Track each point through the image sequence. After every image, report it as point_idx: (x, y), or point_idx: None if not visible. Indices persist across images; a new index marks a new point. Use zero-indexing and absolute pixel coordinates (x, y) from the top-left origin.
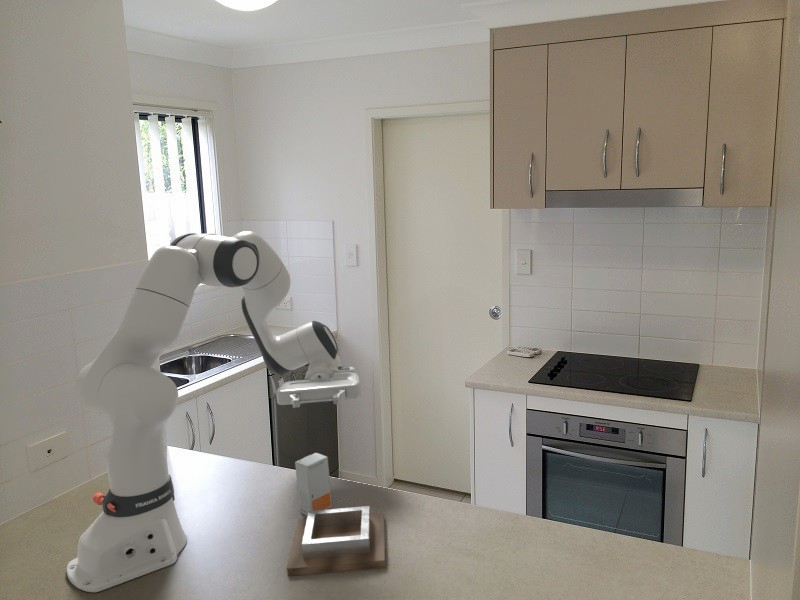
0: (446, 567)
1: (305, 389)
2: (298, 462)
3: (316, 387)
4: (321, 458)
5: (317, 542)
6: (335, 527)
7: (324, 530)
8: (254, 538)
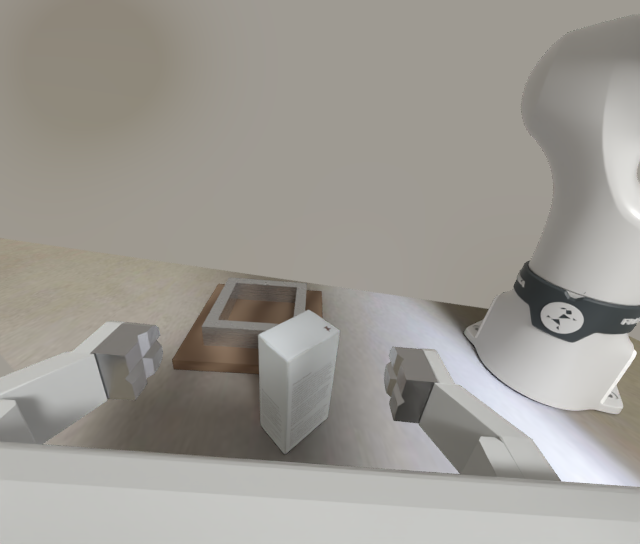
0: (158, 282)
1: (398, 471)
2: (330, 324)
3: (249, 486)
4: (274, 329)
5: (288, 282)
6: None
7: None
8: (385, 360)
